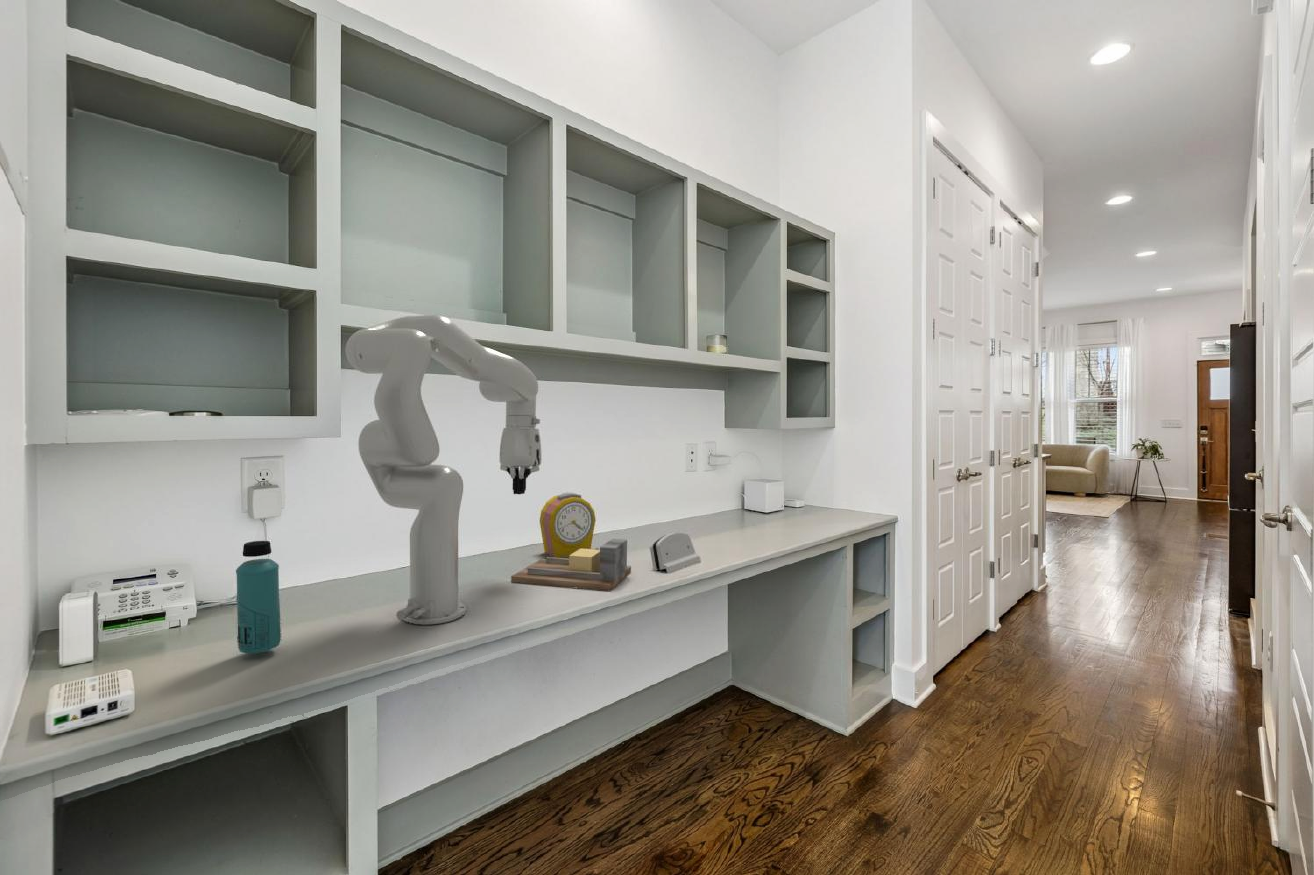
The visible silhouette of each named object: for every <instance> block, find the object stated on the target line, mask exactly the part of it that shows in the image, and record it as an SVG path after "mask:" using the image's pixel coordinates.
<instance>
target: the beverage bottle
mask: <svg viewBox="0 0 1314 875" xmlns="http://www.w3.org/2000/svg"><path fill="white" fill-rule="evenodd" d="M242 548H243V549H242V550H243V551H242V556H243V557H245V558H246V557H248V558H252V557H254V558H255V557H262V556H267V555H271V554H272V547H271V542H270V541H268V540H253V541H249V542H245V543H244V544H243V547H242ZM279 569H280V565H279V563H277V562H276V561H274V560H272V559H271V558H255V559H250V560H245V561H244V562H243V563H241V564H240V565H239V566H238V567H237V568H236V569H235V574H236V596H235V597H236V607H237V612H236V615H237V617H236V618H237V623H236V625H237V637H236V643H237V648H238V651H239V652H240V653H242V654H257V653H263V652H267V651H270V650H273V649H275V648H277V647H278V646H279V645H280V644H281V641H282V629H281V626H282V622H281V619H282V617H281V605H280V604H281V600H280V581H279V580H280V579H279V577H280V575H279V574H280V573H279Z"/></svg>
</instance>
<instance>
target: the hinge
mask: <svg viewBox="0 0 1314 875" xmlns="http://www.w3.org/2000/svg"><path fill="white" fill-rule="evenodd" d="M649 551H650V557H651V562H652V569H653V571H654V572H656V571H658V570H664V569H665V570H666V574H668V573H669V574H672V573H675V572H677V571H680V570H683V569H685V568H684V567H686V566H688V567H690V566H693V564H694V565H696V564H699V563H701V562H702V561H701V557H700V555H699V554H698V553H696V550H695V547H694V545H693V542H692V540H691V537H690V535H689V534H686V533H683V532H673V533H668V534H665V535H663V536H662V535H661V537H659V538H657V539H656V540H654V541H653V542H652V543H651V544H650V546H649ZM698 562H699V563H698ZM682 568H683V569H682ZM686 568H687V567H686Z"/></svg>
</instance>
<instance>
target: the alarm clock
mask: <svg viewBox="0 0 1314 875" xmlns="http://www.w3.org/2000/svg"><path fill="white" fill-rule="evenodd" d="M595 514H596V513H595V509H594V508H593V506H592V505H591V504H590V502H588V501H587V500H585V498H582V495H581V494H578V493H574V492H564V493H561V494H558V495H555V496H553V497H551V498H550V499H548V500H547V501H546V502H545V504H544V505H543V508H542V509H541V510H540V517H539V525H540V531H541V532H540V533H541V537H542V544H543V550H544V553H545V552H546V553H547V554H546V553H545V554H546V555H548V554H549V555H548V556H550V555H551V556H550V557H554V558H566V557H569V555H571V554H572V553H574V552H576V551H577V550H579V549H592V544H593V543H592V542H593V537H594V531H595V525H596V521H597V518H596V515H595Z"/></svg>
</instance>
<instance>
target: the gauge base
mask: <svg viewBox="0 0 1314 875" xmlns="http://www.w3.org/2000/svg"><path fill="white" fill-rule="evenodd" d="M599 550H600V571H598V572H597V573H592V572H580V571H569V558H566V557H560V558H554V557H552V556H546V557H545V558H541V559H539V560H538V561H535V562H534V563H532V564H530V565H528V566H527V567H525V568H523V569H521V570H520V571H518V572H516V573H514V574H513V575H511V576H510V581H511V583H515V582H520V583H519V584H526V583H530V584H529V585H537V584H539V586H548V585H550V587H559V586H560V587H561V588H570V587H577V588H576V589H581V588H585V589H584V590H592V589H597V590H596V591H603V590H605V591H604V592H611V591H612V590H613V589H614V588H615V587H616V586H617V585H618V584H619V583H620V582H621V581H623V579H625V578H626V577H627V576H628V575H629V574H630V573H632V566H631V565H628V564H627V562H628V539H619V538H612V539H610V540H609V541H607V542H606V543H604V544H602V545H601V546H600V547H599ZM613 587H614V588H613ZM612 588H613V589H612ZM611 589H612V590H611Z"/></svg>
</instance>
